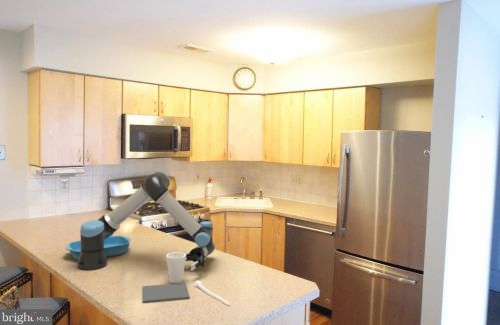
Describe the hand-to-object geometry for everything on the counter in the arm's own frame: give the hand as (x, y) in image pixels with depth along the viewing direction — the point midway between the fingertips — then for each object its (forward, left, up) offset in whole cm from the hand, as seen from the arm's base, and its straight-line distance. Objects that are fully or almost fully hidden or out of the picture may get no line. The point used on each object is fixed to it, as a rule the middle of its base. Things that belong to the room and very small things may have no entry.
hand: (179, 266), depth 192 cm
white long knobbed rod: (+13, -21, -8) cm, 26 cm away
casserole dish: (-42, +50, -7) cm, 66 cm away
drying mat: (-8, -15, -7) cm, 18 cm away
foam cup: (-2, -1, -7) cm, 7 cm away
